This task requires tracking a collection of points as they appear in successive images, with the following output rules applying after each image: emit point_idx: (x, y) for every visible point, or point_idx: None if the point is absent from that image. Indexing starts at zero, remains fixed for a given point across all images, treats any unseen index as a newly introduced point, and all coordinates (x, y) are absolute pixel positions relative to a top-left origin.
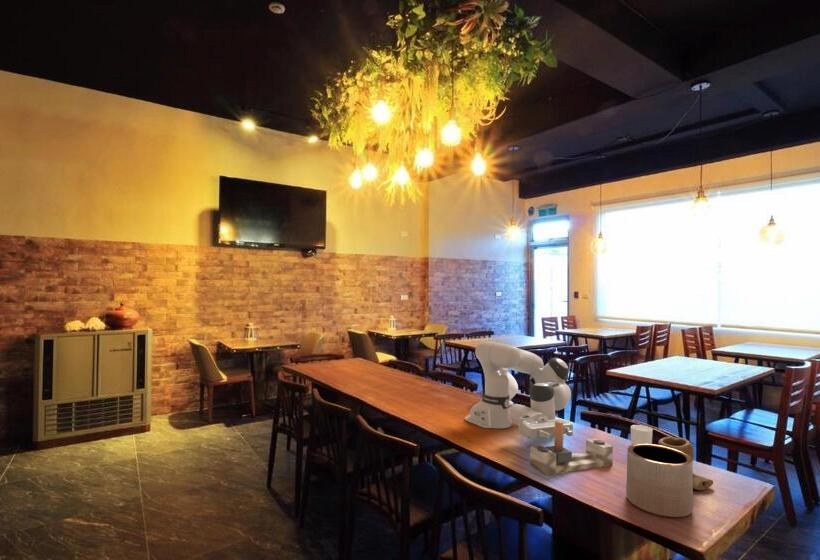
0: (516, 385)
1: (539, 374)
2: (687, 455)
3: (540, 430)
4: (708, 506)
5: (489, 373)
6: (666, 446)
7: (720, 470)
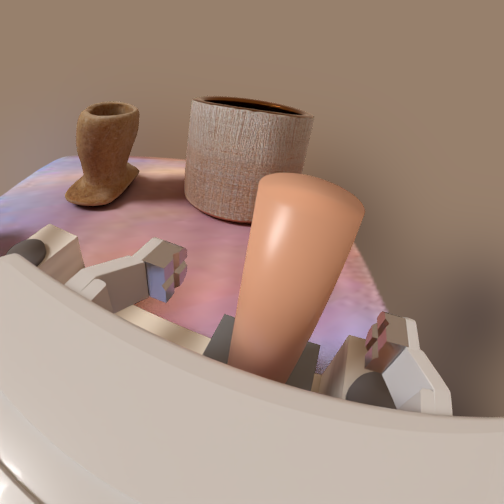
0: None
1: None
2: (219, 96)
3: (439, 400)
4: (181, 171)
5: None
6: (133, 116)
7: (25, 179)
